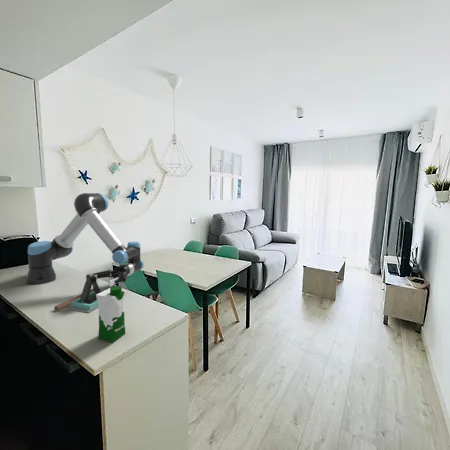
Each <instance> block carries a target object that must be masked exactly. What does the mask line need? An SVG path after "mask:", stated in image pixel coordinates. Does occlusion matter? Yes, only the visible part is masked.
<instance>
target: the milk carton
mask: <svg viewBox="0 0 450 450" xmlns="http://www.w3.org/2000/svg"><path fill="white" fill-rule="evenodd" d="M126 295H127V290H125V289H122V286H120V285H119V286H118V285H117V286H116V285H114V286H111V287H109V288H107V289H105V290H103V291H101V293H98V294H96V297H97V301H98V305H99V308H98V336H97V339H98V340H101V341H104V342H109V343H113V344H114V343H115V342H117V341H118V340H119V339H120V338H122V337H123V336H124V335H126V326H125V325H126V323H125V300H126Z"/></svg>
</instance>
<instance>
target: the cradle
mask: <svg viewBox="0 0 450 450" xmlns="http://www.w3.org/2000/svg"><path fill="white" fill-rule="evenodd" d="M91 295H95V292H91V293H90V294H89V296H91ZM97 309H99V305H98V301H97V299H96V300H92V301H88V302H83V301H82V300H81V299H80V298H79V299H77V300H75V301H73V302H71V305H70V306H68V307H66V309H65V310H70V311H76V312H82V313H87V314H90V313H91V312H93V311H95V310H97Z"/></svg>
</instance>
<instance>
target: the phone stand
mask: <svg viewBox="0 0 450 450" xmlns="http://www.w3.org/2000/svg"><path fill="white" fill-rule="evenodd" d="M85 280H86V281H85V283H84V285H83V288H82V291H81V293H80V294H81V297H80V299H81V300H82V301H83V302H88V301H92V300H96V299H97V297H96V294H98V293H101V292H102V291H101V289H100V287H99V285H98V281H97V280H98V279H97V278H96V277H95V276H94V275H93V273H87V274H86V275H85ZM91 289H94V292H95V295H91V296H89V294H90V290H91Z"/></svg>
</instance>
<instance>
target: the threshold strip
mask: <svg viewBox="0 0 450 450" xmlns="http://www.w3.org/2000/svg"><path fill="white" fill-rule="evenodd" d="M91 292H94V289H93V288H91V290H90V293H91ZM81 294H82V293H80V294H79V295H76V296H73V297H71V298H70V299H67V300H65V301H63V302H61V303H58V304H57V305H55V306H54V311H56V312H61V311H64V310H67V309H66V307H68V306H70V305H71V302H73V301H75V300H77V299H79V298H80V297H81Z"/></svg>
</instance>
